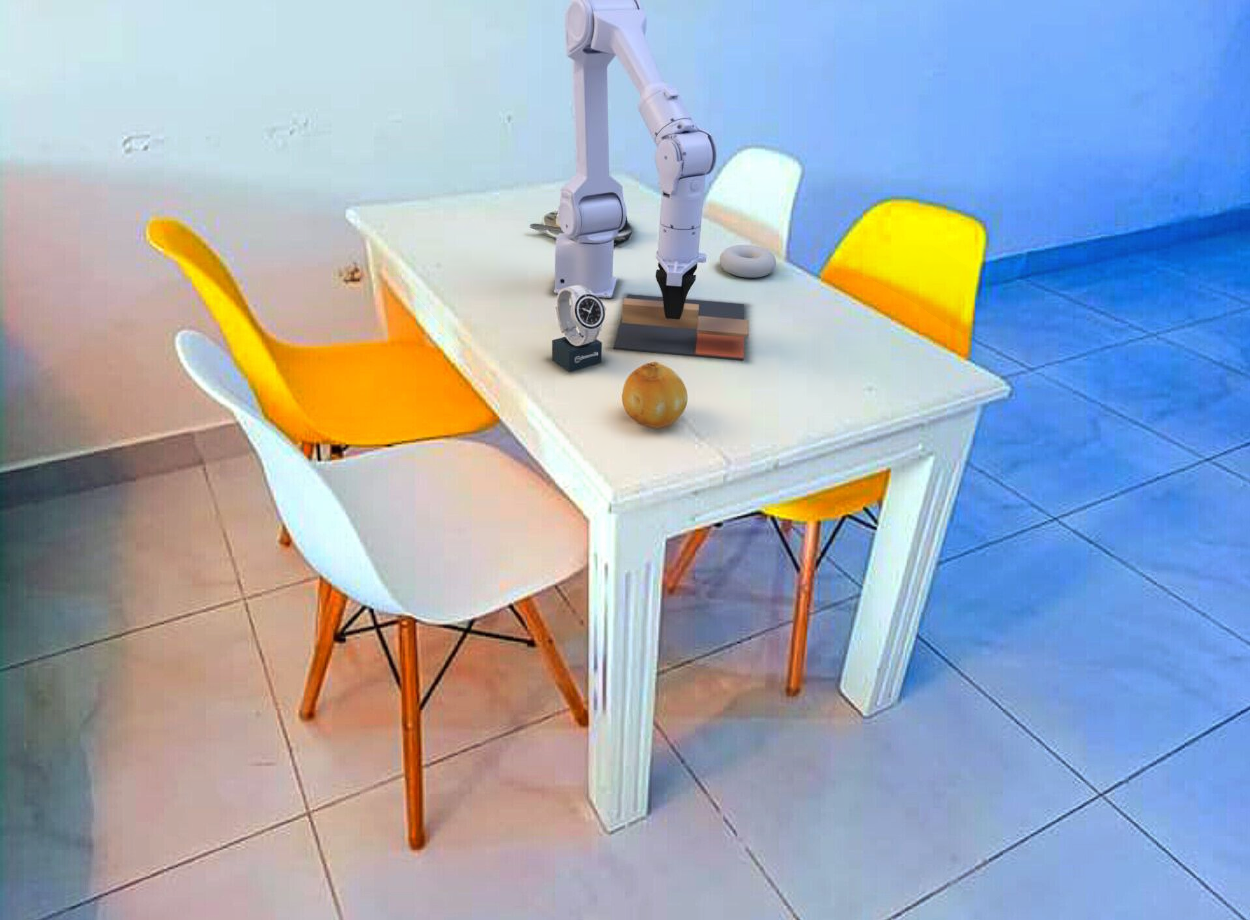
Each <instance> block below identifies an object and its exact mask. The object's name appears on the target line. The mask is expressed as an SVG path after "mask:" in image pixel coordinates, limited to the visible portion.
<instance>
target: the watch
mask: <svg viewBox="0 0 1250 920" xmlns="http://www.w3.org/2000/svg"><path fill="white" fill-rule="evenodd" d="M571 293H572V294H571ZM570 294H571V295H570ZM555 302H556V306H555V312H556V317H557V321H558V326H559V328H560V331H561V333H562V334H563V335H564V336H562V337H559V338H555V339H552V340H551V360H552V362H554V363H555V364H557V365H558V366H559V367H561V368H562V369H564V370H565V371H567V372H568V373H571V372H574V371H578V370H581V369H584V368H588V367H592V366H595V365H597V364H602V361H603V360H602V359H603V357H602V355H603V342H602V341H601V340H600V339H598V337H599V335H600V332H601V331H602V328H603V324H604V321H605V319H606V310H607V309H606V308H607V307H606V305H604V303H603V301H602V299H600V297H597V296H595V295H594V294H593V293H592V291H591V290H588V289H587V288H586V287H584V286H582V285H575V286H570V287H566V288H563V289H561V290H560V291H559V293H557V294H556V301H555ZM577 329H578V330H577Z"/></svg>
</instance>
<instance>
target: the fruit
mask: <svg viewBox="0 0 1250 920" xmlns="http://www.w3.org/2000/svg"><path fill="white" fill-rule="evenodd" d="M688 398H689V397H688V390H687V387H686V385H685V383H684V380H682V378H681V377H680V376H679V375H678V373H677V372H675V371H674V370H673V369H672V368H670V367H668V366H666V365H663V364H660V363H659V362H658V361H651V362H647V363H645V364H642V365H641V366H639V367H637V368H636V369H635V370H633V371H632V372H631V373H630V374H629V376H628V377H627V378H626V379H625V381H624V384H623V387H622V392H621V402H622V406H623V408H624V410H625V412H626V414H627V415H628V417H629V418H631V419H632V420H633V421H634V422H636V423H638V424H640V425H642V426H645V427H649V428H654V429H655V428H656V429H659V428H664V427H665V428H666V427H668V426H670V425H672V424H674V423H675V422H676V421H678V420H679V418H680V417H681V416H682V415H683V413H684V412H685V410H686V407H687V405H688Z"/></svg>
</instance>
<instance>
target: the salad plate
mask: <svg viewBox="0 0 1250 920" xmlns="http://www.w3.org/2000/svg"><path fill="white" fill-rule="evenodd" d="M629 222H630V221H629V220H628V215H627V216H626V221H625V224H624V226H623V228H622V229H621V230H618V237H614V245H619V244H622V243H625V242H627V241H628V240H629V239H630V237H631V235H632V234H633V227H632V225H631V224H630V223H629ZM529 228H530V229H532V230H535V231H539V232H541V233H543V234H545V235H547V236H548V237H550V238H553V239H555V240H557V236H558V234H560V233H564V232H563V231H562V229H561V227H560V224H559V220H558V210H554V211H550V212H548V213H546V214H545V215H544V216H543V217H542V224H541V223H530V224H529Z"/></svg>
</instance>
